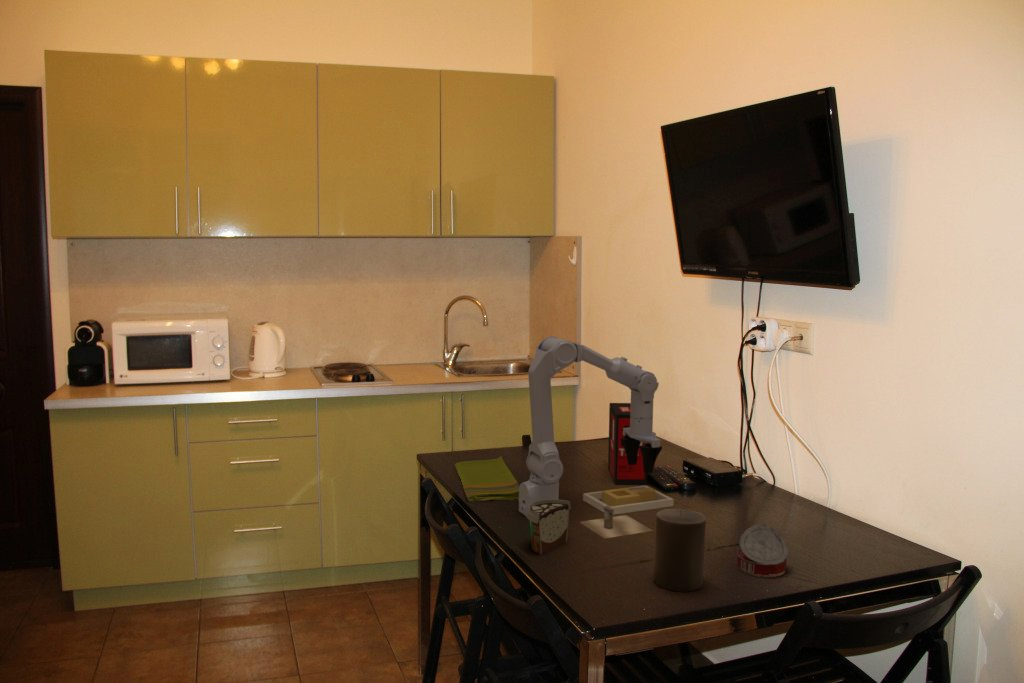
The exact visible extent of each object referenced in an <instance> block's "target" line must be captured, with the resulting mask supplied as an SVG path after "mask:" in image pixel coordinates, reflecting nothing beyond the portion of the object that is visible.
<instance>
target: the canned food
mask: <svg viewBox="0 0 1024 683" xmlns="http://www.w3.org/2000/svg"><path fill="white" fill-rule="evenodd" d="M739 546H740V549H739V550H738V551H737V552H736V554H737V558H736V567H737V566H738V567H739V568H740V569H742V570H743V571H746V572H750V573H754V574H761V575H769V574H778V573H781V572H783V571H785V569H786V570H787V557H788V556H789V548H788V546H787V541H786V539H785V538H784V536H782V534H781V532H779V531H778V530H777V528H776V527H774V526H772V525H768V524H766V523H760V524H759V523H758V524H754V525H753V526H751V527H749V528H746V529H745V530H744V532H743V533H742V534H741V536H740V539H739Z"/></svg>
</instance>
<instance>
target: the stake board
mask: <svg viewBox="0 0 1024 683" xmlns="http://www.w3.org/2000/svg"><path fill="white" fill-rule="evenodd" d="M603 513H604V514H603V517H604V518H597V519H589V520H582V521H579V523H580V524H581V525H583V526H585V527H586V528H587V529H589V530H591V531H592V532H593V533H595V534H596V535H599V536H600V537H601V538H603V539H605V540H606V539H611V538H617V537H623V536H630V535H636V534H642V533H649V532H654V530H652V529H651V528H649V527H647V526H646V525H645V524H642V523H640V522H639V521H638V520H635V519H634V518H632V517H630V516H629V515H626V514H624V515H623V514H621V515H618V516H614V515H613V513H614V509H612V508H610V507H609V505H608V506H604V512H603Z"/></svg>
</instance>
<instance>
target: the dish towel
mask: <svg viewBox="0 0 1024 683" xmlns="http://www.w3.org/2000/svg"><path fill="white" fill-rule="evenodd" d="M454 467H455V470H456V472H457V475H458V477H460V478H459V480H460V479H461V481H460V483H461V482H462V484H461V486H462V485H463V486H462V488H463V489H462V490H463V491H464V494H465V497H466V499H467V501H473V500H482V501H486V500H510V501H515V500H514V499H517V500H516V501H519V487H520V484H519V483H518V481H517V480H516V478H515V477H514V475H513V473H512V472H511V470H510V469H509V468H508V466H507V465H506V463H505V462H504V459H503V456H502V455H500V457H497V458H492V459H491V458H490V459H485V460H483V459H481V460H466V461H465V460H464V461H459V462H456V463H455V464H454ZM486 502H487V501H486Z"/></svg>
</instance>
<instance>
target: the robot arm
mask: <svg viewBox="0 0 1024 683" xmlns="http://www.w3.org/2000/svg"><path fill="white" fill-rule="evenodd" d="M582 361H583V362H585V363H587V364H589V365H591V366H594V367H596V368H599V369H601V370H603V371H604V372H605V374H606V376H607V378H608V379H610V380H612V381H614V382H616V383H619V384H621V385H622V386H624V387H626V388H628V389H629V390H630V403H631V410H630V428H623V435H624V436H625V438H620V441H621V443H622V445H623V447H624V450H625V453H626V457H627V462H628V465H629V466H630V465H636V463H637V457H638V450H639V448H640V450H641V453H642V458H643V469H644V473H647V474H650V473H653V471H654V467H655V464H656V462H657V458H658V456H659V455H660V453H661V452H662V450H663V446H661V439H660V438H658V437H657V436H656V435H657V433H656V432H654V431H653V427H654V424H653V423H654V418H653V417H654V399H655V393H656V392H657V391H658V388H659V385H660V384H659V382H658V379H657V377H656V376H655V374H654V373H653V372H650V371H647V370H644V369H643V367H642V365H639V364H636V365H635V364H634V363H633V364H632V363H631V362H628V358H626V357H624V356H620V357H618V356H617V357H614V358H608V357H607V356H606V355H603V354H601V353H600V352H598V351H595V350H594V349H592V348H590V347H588V346H586V345H584V344H580V343H576V342H573V341H571V340H567V339H562V338H559V337H557V336H554V335H549V336H547V337H545V338H543V339H542V341H540V342H539V343H538V344H537V345H536V346H535V354H534V356H533V358H532V360H531V364H530V366H529V368H528V371H527V374H528V375H527V376H528V389H529V391H528V392H529V404H530V405H529V406H530V420H531V422H530V424H531V435H532V436H531V437H532V442H530V444H529V446H528V455H527V457H526V460H525V462H526V468H527V470H529V472H530V475H529V479H528V480H526V481H524V482H521V483H520V484H519V486H520V487H519V500H518V512H519V513H521V514H522V515H524V516H525V517H526V518H527V516H526V515H527V511H528V508H529V506H530V504H532V503H534V502H536V501H540V500H547V499H559V498H560V496H559V490H560V489H559V488H560V478H561V477H562V475H563V473H564V465H563V462H562V461H561V459H560V455H559V454H560V453H559V450H558V448H557V446H556V442H555V434H554V432H555V430H554V419H553V417H554V416H553V415H554V414H553V401H552V398H553V397H552V383H551V381H552V378H553V377H554V376H555V375H557V373H558V372H560V371H562V370H564V369H565V368H568V367H569V366H571V365H572V364H573V363H580V362H582ZM641 442H644V443H646V445H643V446H640V443H641ZM559 500H560V499H559Z"/></svg>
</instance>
